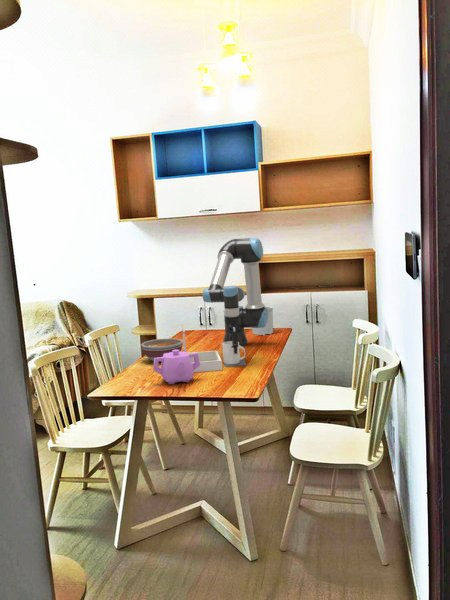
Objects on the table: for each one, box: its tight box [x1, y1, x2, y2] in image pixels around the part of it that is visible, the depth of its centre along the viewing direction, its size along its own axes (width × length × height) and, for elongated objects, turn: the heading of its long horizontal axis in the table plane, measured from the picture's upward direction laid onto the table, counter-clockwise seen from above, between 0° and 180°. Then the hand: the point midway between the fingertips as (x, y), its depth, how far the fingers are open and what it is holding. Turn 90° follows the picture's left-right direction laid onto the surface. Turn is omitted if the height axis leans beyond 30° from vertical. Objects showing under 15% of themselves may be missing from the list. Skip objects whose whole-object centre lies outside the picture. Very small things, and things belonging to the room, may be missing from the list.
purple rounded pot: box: [152, 350, 201, 385], centre depth 269 cm, size 19×18×15 cm
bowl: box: [140, 337, 183, 363], centre depth 316 cm, size 23×23×10 cm
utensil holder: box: [251, 305, 274, 336], centre depth 376 cm, size 15×15×18 cm
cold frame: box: [181, 323, 223, 373], centre depth 295 cm, size 18×24×21 cm
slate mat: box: [222, 359, 247, 368], centre depth 297 cm, size 11×11×1 cm
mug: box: [222, 341, 246, 365], centre depth 296 cm, size 9×12×11 cm
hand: (234, 357), depth 297 cm, fingers open, 11 cm apart
